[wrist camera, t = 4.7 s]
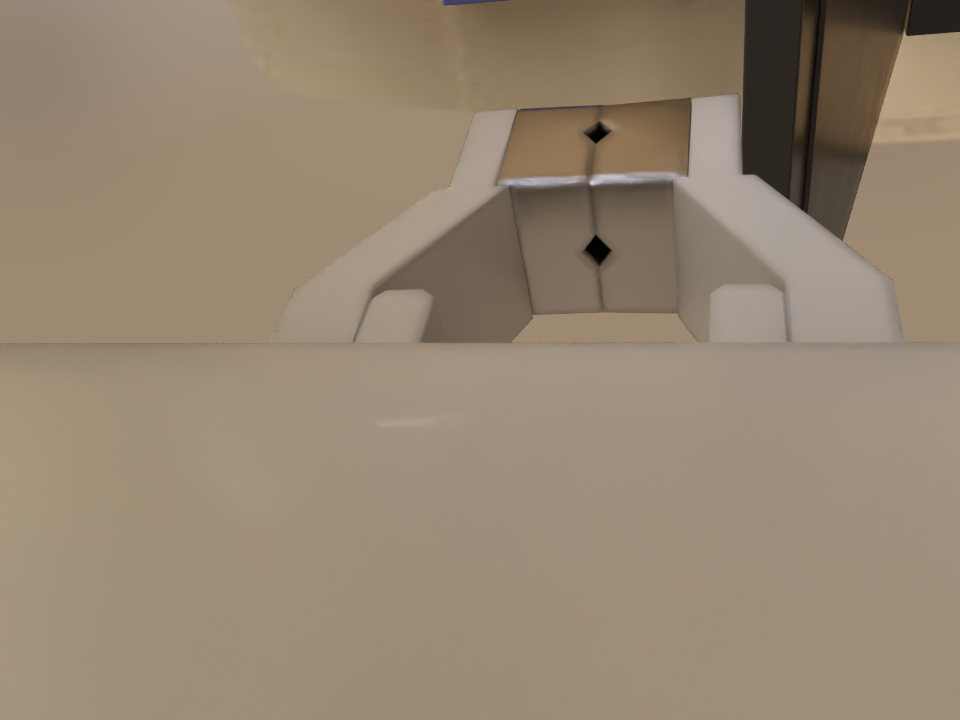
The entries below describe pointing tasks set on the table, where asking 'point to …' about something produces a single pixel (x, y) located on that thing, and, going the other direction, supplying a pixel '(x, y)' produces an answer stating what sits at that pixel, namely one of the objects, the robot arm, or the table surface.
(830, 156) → the laptop screen
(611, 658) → the robot arm
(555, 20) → the table surface
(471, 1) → the hard drive
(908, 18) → the laptop
